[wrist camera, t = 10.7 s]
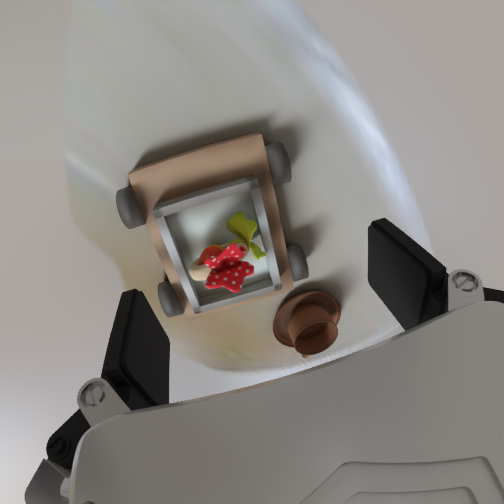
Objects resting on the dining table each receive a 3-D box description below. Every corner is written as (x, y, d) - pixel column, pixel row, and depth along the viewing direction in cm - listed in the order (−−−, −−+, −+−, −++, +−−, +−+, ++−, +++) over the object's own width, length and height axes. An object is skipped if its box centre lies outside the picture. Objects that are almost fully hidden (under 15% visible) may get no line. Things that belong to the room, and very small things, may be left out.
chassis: (118, 175, 33) (106, 185, 28) (272, 128, 34) (284, 131, 29) (175, 310, 43) (174, 334, 39) (300, 274, 44) (312, 294, 40)
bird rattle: (226, 264, 39) (283, 244, 35) (192, 322, 31) (259, 308, 26) (200, 228, 37) (257, 201, 33) (156, 281, 28) (222, 255, 24)
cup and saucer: (337, 328, 52) (350, 350, 46) (276, 347, 51) (284, 372, 46) (335, 276, 46) (351, 298, 41) (264, 298, 45) (273, 323, 40)
